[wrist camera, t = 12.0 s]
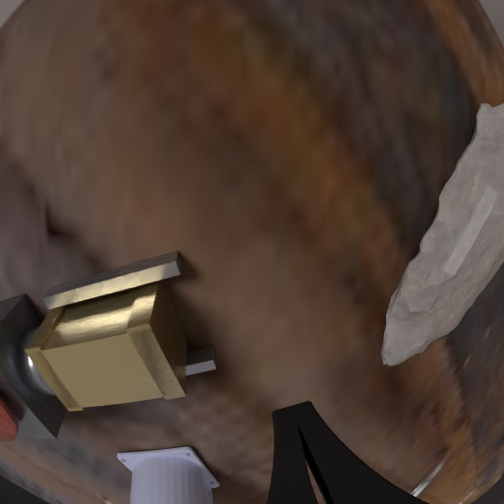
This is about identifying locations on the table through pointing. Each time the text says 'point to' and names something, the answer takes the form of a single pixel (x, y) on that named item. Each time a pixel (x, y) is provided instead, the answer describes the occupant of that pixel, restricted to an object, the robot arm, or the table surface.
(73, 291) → the valve
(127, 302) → the gold flanged block
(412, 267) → the stone tool
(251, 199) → the table surface
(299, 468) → the robot arm
